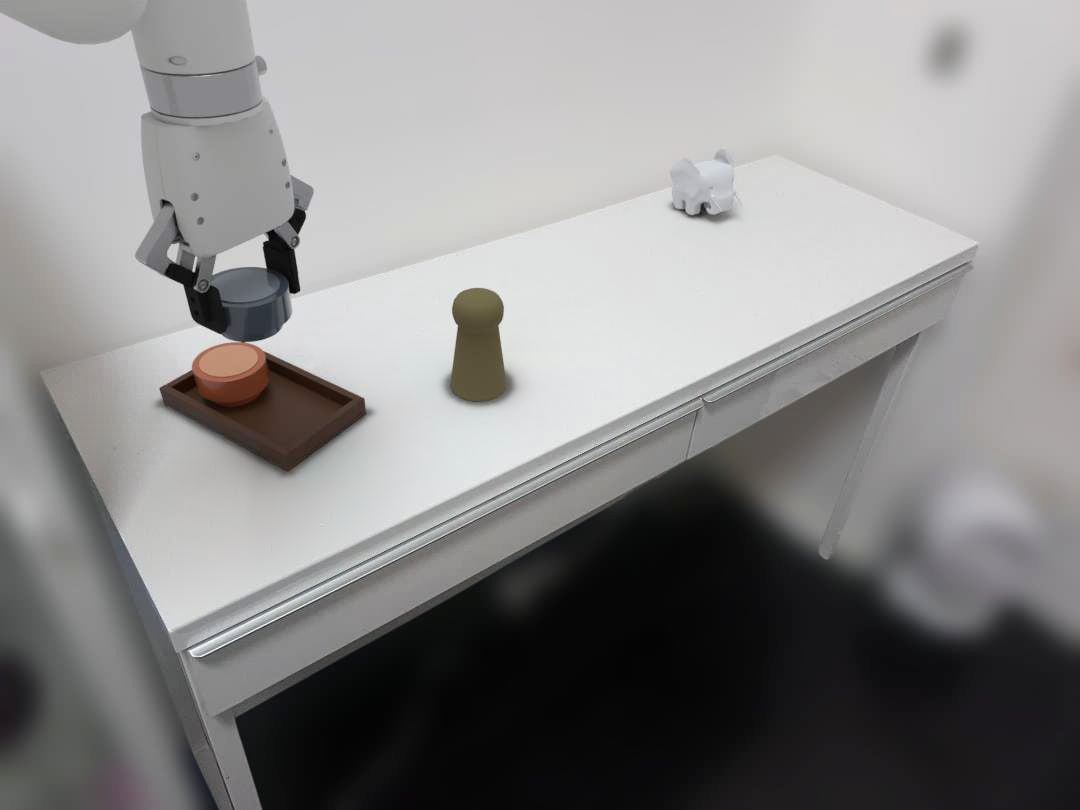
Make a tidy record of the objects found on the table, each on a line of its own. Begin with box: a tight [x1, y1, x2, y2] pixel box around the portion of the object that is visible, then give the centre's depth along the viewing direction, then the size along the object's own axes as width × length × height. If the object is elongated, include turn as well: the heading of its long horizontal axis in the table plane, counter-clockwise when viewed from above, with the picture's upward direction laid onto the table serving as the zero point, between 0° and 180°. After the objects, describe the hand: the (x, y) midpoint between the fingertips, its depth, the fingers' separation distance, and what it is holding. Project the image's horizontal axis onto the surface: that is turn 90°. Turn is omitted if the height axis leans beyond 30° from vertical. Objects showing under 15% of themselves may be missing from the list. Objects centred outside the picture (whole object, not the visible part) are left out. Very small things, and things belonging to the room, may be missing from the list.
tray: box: [158, 342, 367, 472], centre depth 81 cm, size 11×18×2 cm, turn 57°
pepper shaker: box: [449, 287, 507, 403], centre depth 83 cm, size 6×6×11 cm
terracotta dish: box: [191, 341, 269, 407], centre depth 82 cm, size 7×7×4 cm
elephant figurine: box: [668, 146, 743, 216], centre depth 122 cm, size 10×12×9 cm
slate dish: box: [210, 266, 293, 343], centre depth 67 cm, size 7×7×4 cm
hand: (249, 305), depth 67 cm, fingers closed on slate dish, 7 cm apart
